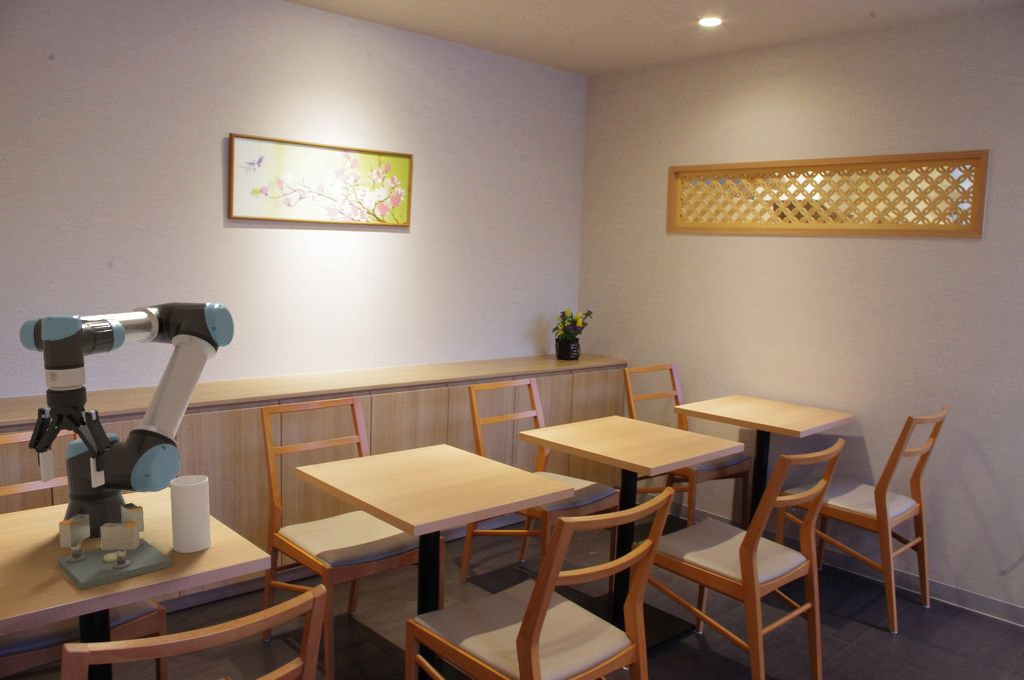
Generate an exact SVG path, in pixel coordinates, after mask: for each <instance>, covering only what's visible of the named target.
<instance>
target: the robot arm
mask: <svg viewBox="0 0 1024 680" xmlns="http://www.w3.org/2000/svg"><path fill="white" fill-rule="evenodd" d="M234 333H235V326H234V319H233V316H232V314H231V312H230V310H229V309H228V307H226V306H225V305H223V304H222V303H214V302H201V303H200V302H178V301H177V302H167V303H160V304H154V305H149V306H141V307H136V308H134V309H133V310H132V311H125V312H114V313H113V312H112V313H102V314H89V315H78V314H71V313H69V314H51V315H47V316H44V317H40V318H39V317H38V318H31V319H29V318H28V319H27V320H26V321H24V322H23V324H22V325H21V327H20V329H19V341H20V344H21V345H22V346H23V347H24V348H25V349H26V350H28V351H31V352H32V351H33V352H39V353H42V352H43V365H44V378H45V379H44V381H45V386H46V387H47V389H46V391H45V395H46V396H45V398H46V405H47V406H44V407H40V408H38V409H37V418H36V421H35V425H34V429H33V431H32V433H31V437H30V440H29V441H28V442H29V443H28V448H29V449H30V450H31V449H32V450H35V452H36V453H37V464H38V467H40V469H39V470H40V478H41V479H40V482H41V483H46V482H48V481H52V480H55V471H54V457H53V450H52V447H51V446H52V444H53V443H54V441H55V440H56V438H57V436H58V435H59V434H60V432H61V431H65V430H66V431H68V432H69V431H70V432H73V433H74V434H77V435H78V437H79V438H78V439H74V440H71V441H70V442H69V443H68V444H67V445H66V447H65V448H66V450H65V451H66V454H65V456H66V457H65V463H66V464H65V465H66V466H65V467H66V475H67V477H66V478H67V486H68V502H67V503H68V505H67V507H66V511H65V515H64V517H63V520H69V519H71V518H72V517H74V516H76V515H78V514H89V526H90V536H89V537H88V538H93V537H94V538H95V537H101V529H100V527H101V526H103V525H104V524H106V523H122V519H121V505H123V504H127V503H126V501H125V498H124V496H123V492H122V491H129V492H131V491H132V492H138V493H155V492H156V493H158V492H161V491H162V490H165V489H166V488H168V487H170V481H171V480H173V479H175V478H177V476H178V474H179V472H180V467H181V462H180V461H181V454H180V451H179V450H178V449H177V448H178V444H179V443H178V442H177V440H176V438H175V437H176V434H177V432H178V431H179V428H180V425H181V424H182V420H183V418H184V415H185V414H186V411H187V408H188V406H189V403H190V402H191V399H192V397H193V394H194V392H195V390H196V387H197V385H198V383H199V380H200V378H201V375H202V373H203V370H204V368H205V367H206V363H207V361H208V360H211V359H213V358H215V357H216V355H217V352H218V350H219V348H220V347H223V348H224V347H227V346H228V345H230V344H231V343H232V341H233V338H234ZM132 341H133V342H134V341H136V342H138V343H141V344H147V343H158V344H169V345H172V346H173V347H174V349H173V351H172V354H171V356H170V358H169V359H168V360H169V361H168V363H167V365H166V367H165V369H164V371H163V374H162V377H160V381H159V382H158V385H157V387H156V390H155V391H154V394H153V396H152V398H151V400H150V403H149V404H148V407H147V409H146V411H145V413H144V416H143V418H142V420H141V423H140V425H139V426H137V427H134V428H132V429H130V432H129V433H128V435H127V437H126V440H125V441H120V437H119V435H118V433H115V432H110V433H109V432H108V433H106V432H105V429H104V427H103V425H102V423H101V420H100V417H99V411H98V409H93V410H87V411H86V409H85V406H86V403H87V402H88V400H87V399H88V398H87V396H88V395H87V387H85V386H84V385H85V384H86V383H87V382H86V372H85V371H86V370H85V369H86V368H85V357H86V356H92V355H97V354H103V353H110V352H112V351H116V350H119V349H120V348H121V347H122V346H123V345H124V343H125V342H127V343H128V342H132Z"/></svg>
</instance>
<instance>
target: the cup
mask: <svg viewBox="0 0 1024 680" xmlns="http://www.w3.org/2000/svg"><path fill="white" fill-rule="evenodd" d="M169 487H170V508H171V511H170V512H171V527H172V528H171V529H172V530H171V531H172V546H173V547H172V549H173V551H175V552H176V553H181V554H189V553H191V554H192V553H197V552H200V551H203V550H207V549H209V547H211V546H212V537H211V534H212V533H211V514H210V513H211V512H210V511H211V510H210V492H209V491H210V488H209V477H208V476H206V475H199V474H198V475H197V474H191V475H184V476H179V477H176V478H175V479H173V480H171V481H170V485H169Z"/></svg>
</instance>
